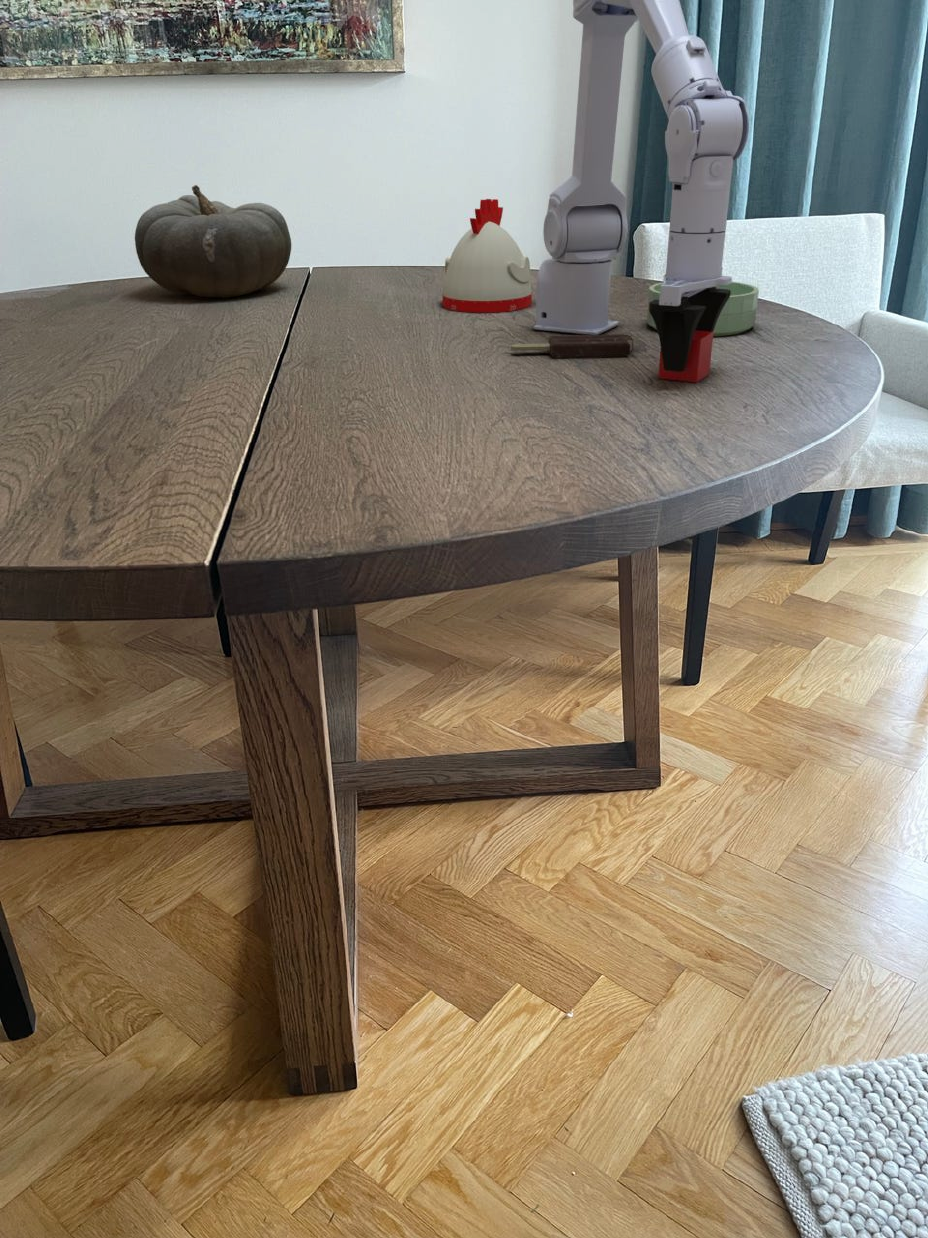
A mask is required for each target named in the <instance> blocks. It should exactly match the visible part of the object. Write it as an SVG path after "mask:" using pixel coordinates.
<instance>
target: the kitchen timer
mask: <svg viewBox="0 0 928 1238" xmlns="http://www.w3.org/2000/svg"><path fill="white" fill-rule="evenodd" d="M503 211H504V207H503V206H499V199H496V198H485V199H480V202H479V208H474V215H475V217H474V218H473V217H469V222H470V227H471V228H470V229H468V230H467V231H466V232H465V233H464V234H463V236H462V237H461V238H460V240H458V242H457V244H456V245H455V247H454V249H453V251H452V253H451V255H450V257H446V258H445V261H444V271H445V275H444V279H443V284H442V292H441V294H442V295H441V296H442V299H441V300H442V306H443V308H444V309H447V310H449V311H455V312H463V313H479V314H480V313H481V314H483V313H504V312H512V311H519V310H523V309H527V308H528V307H531V306H532V303H533V302H532V301H533V296H532V295H533V291H532V289H533V288H532V281H531V278H530V277H531V264H530V259H529V257H528V256H524V255H523V253H522V251H521V249H520V246H519V245H518V244H517V242H516V240H515V239H514V238H513V237H512V236H511V234H510V233H509V232H508V231H507V230H505V229H504V228H503V227H502V226H501V223H502V218H503Z"/></svg>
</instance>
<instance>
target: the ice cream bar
mask: <svg viewBox="0 0 928 1238" xmlns="http://www.w3.org/2000/svg"><path fill="white" fill-rule="evenodd" d="M510 350H511V351H513V352H523V351H524V352H526V351H527V352H528V351H549V355H550V356H551V358H552V359H577V358H578V359H580V358H581V359H583V358H625V357H628V356H630V354H631V353H632V352H633V350H634V339H633V337H632V336H631V335H629V334H623V333H616V334H615V333H613V334H612V333H610V334H607V333H606V334H598V335H589V334H564V335H562V334H561V335H560V334H559V335H550V336H549V337H548V343H514V344H510Z"/></svg>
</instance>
